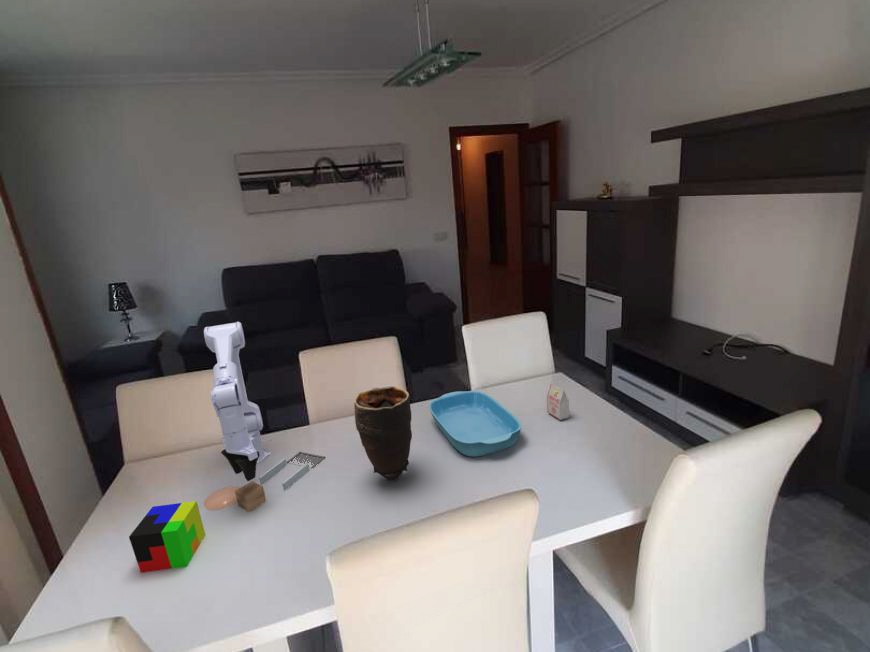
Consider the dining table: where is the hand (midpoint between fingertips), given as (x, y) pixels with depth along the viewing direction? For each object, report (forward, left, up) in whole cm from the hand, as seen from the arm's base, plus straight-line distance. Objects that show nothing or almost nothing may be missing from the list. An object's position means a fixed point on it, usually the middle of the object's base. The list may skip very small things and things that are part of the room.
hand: (245, 475), depth 119 cm
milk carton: (+67, +70, -9) cm, 97 cm away
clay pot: (+31, +21, -9) cm, 38 cm away
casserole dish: (+44, +51, -9) cm, 68 cm away
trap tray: (+1, +21, -8) cm, 22 cm away
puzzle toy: (-3, -20, -9) cm, 22 cm away
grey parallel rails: (+1, +12, -8) cm, 15 cm away
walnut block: (+1, -1, -8) cm, 9 cm away
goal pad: (-9, -1, -8) cm, 12 cm away
